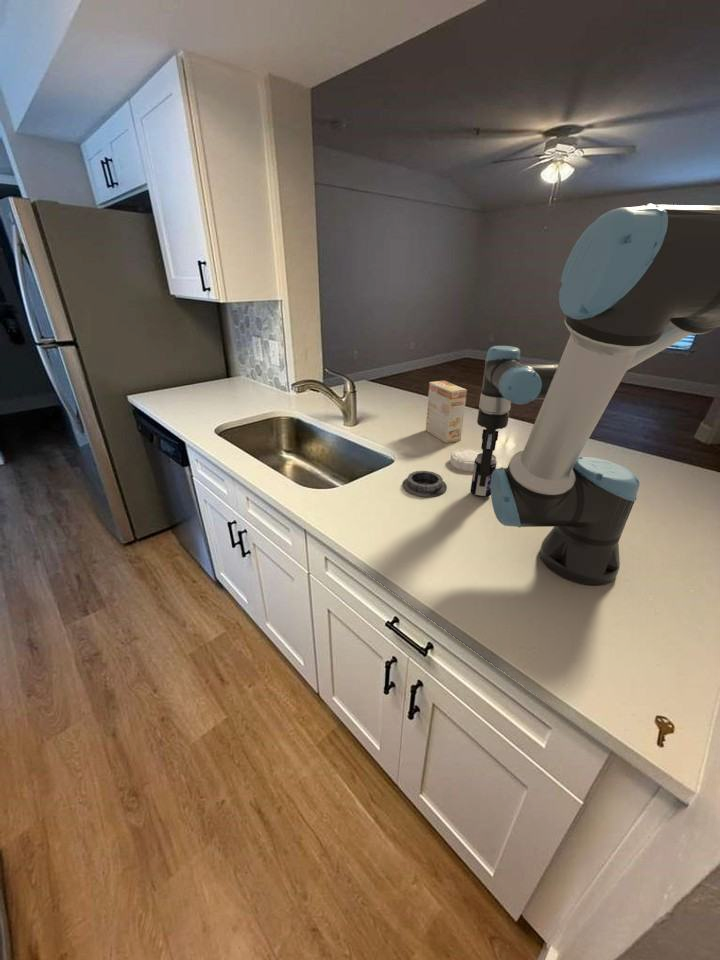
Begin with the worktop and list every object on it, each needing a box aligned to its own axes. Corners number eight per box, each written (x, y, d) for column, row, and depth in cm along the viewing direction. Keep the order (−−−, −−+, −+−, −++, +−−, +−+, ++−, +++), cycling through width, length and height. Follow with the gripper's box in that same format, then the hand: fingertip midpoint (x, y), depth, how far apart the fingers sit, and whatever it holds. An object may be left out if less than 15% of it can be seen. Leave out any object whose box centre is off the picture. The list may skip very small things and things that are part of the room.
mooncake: (445, 468, 126) (447, 458, 125) (455, 454, 136) (456, 444, 134) (483, 475, 122) (485, 465, 120) (490, 460, 131) (491, 451, 130)
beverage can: (476, 501, 108) (482, 462, 102) (466, 491, 112) (471, 453, 107) (494, 498, 109) (501, 459, 103) (483, 488, 114) (490, 451, 108)
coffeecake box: (461, 440, 146) (468, 389, 137) (445, 443, 144) (450, 391, 135) (440, 427, 159) (444, 379, 149) (424, 430, 156) (428, 381, 147)
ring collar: (443, 500, 108) (444, 492, 107) (397, 493, 112) (398, 485, 110) (449, 479, 119) (450, 472, 118) (407, 473, 122) (408, 466, 121)
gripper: (509, 423, 90) (493, 508, 101) (509, 401, 105) (496, 476, 116) (476, 420, 92) (464, 503, 103) (481, 398, 108) (470, 473, 119)
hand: (481, 489), depth 110 cm, fingers closed on beverage can, 6 cm apart
